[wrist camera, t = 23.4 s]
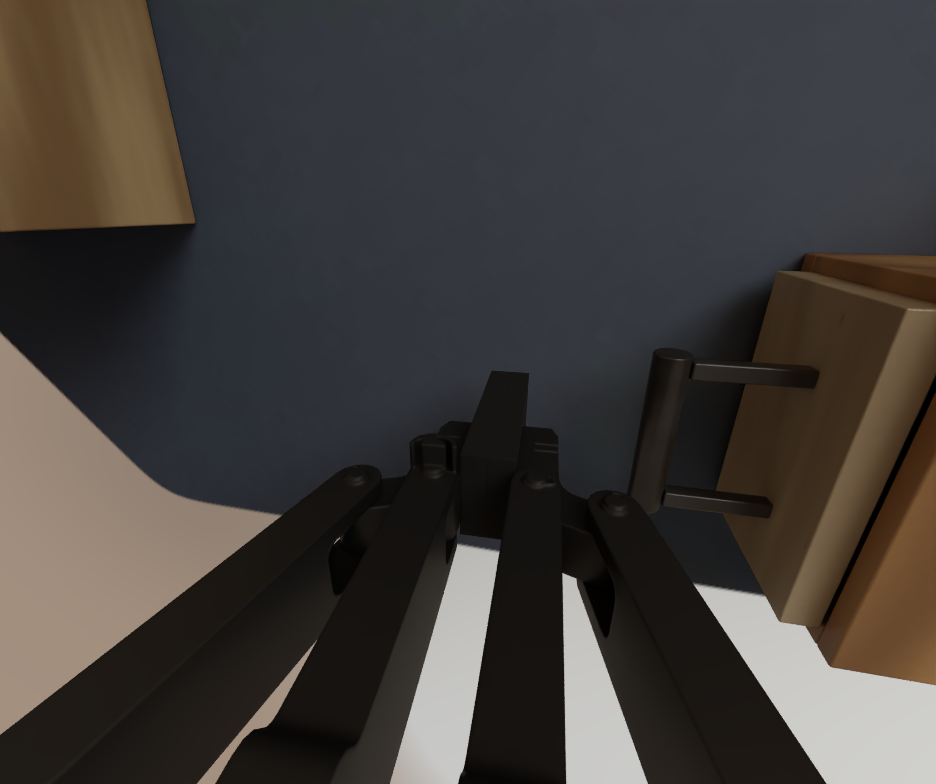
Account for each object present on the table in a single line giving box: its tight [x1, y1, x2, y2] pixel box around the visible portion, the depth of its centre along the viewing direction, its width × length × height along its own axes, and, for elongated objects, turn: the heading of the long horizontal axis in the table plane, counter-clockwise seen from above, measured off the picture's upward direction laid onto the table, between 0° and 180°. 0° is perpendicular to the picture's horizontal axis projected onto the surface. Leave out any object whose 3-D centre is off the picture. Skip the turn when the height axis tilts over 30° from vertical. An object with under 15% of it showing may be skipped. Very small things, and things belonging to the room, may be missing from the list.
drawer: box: [627, 271, 936, 628], centre depth 15 cm, size 18×10×7 cm, turn 90°
